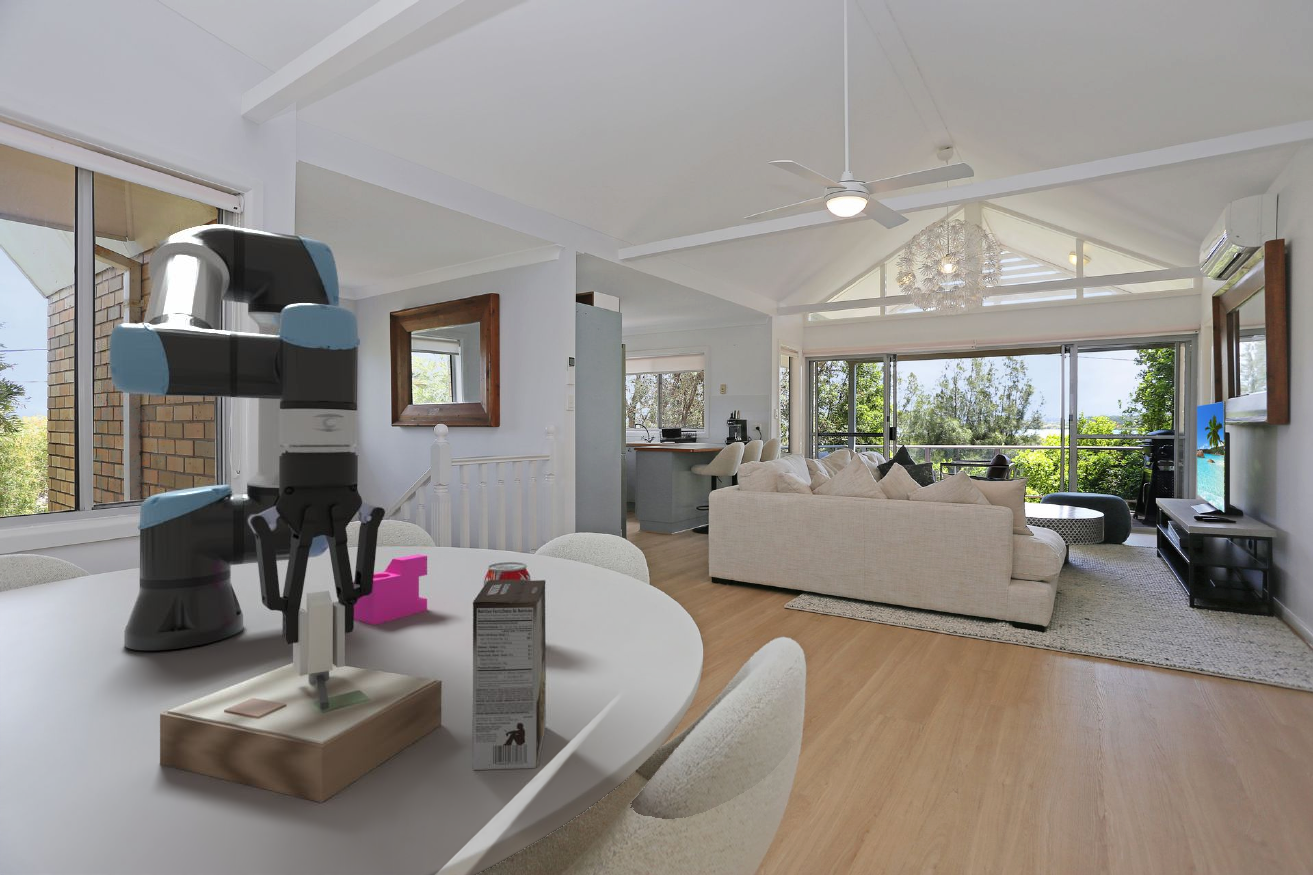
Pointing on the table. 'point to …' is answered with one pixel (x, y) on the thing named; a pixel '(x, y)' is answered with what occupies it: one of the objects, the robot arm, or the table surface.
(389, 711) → the switch box
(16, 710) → the table surface
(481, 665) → the coffee box
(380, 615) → the bracket
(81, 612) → the table surface
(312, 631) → the switch lever
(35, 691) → the table surface
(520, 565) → the soda can
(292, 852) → the table surface
